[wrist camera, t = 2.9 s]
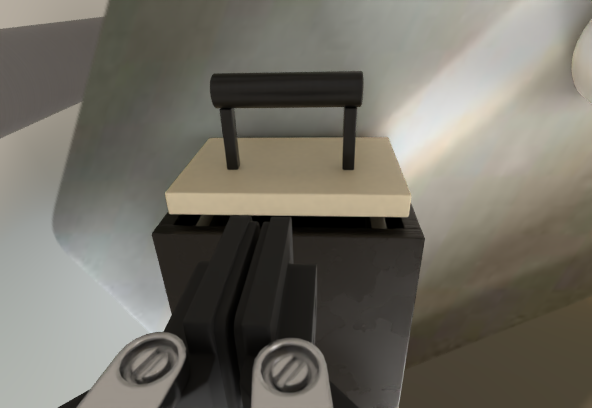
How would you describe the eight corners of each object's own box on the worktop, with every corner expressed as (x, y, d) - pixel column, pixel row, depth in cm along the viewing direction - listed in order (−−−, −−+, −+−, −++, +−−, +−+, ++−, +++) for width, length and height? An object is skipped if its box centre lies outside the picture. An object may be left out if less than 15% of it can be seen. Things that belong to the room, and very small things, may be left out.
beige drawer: (197, 58, 23) (140, 88, 16) (395, 54, 22) (426, 84, 15) (231, 296, 31) (205, 381, 25) (373, 300, 31) (386, 390, 24)
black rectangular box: (207, 156, 27) (151, 233, 18) (393, 156, 26) (425, 238, 17) (230, 313, 34) (198, 421, 25) (377, 318, 33) (394, 432, 24)
